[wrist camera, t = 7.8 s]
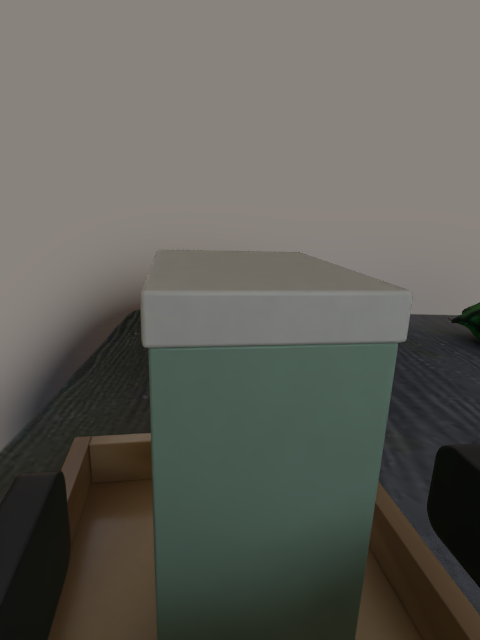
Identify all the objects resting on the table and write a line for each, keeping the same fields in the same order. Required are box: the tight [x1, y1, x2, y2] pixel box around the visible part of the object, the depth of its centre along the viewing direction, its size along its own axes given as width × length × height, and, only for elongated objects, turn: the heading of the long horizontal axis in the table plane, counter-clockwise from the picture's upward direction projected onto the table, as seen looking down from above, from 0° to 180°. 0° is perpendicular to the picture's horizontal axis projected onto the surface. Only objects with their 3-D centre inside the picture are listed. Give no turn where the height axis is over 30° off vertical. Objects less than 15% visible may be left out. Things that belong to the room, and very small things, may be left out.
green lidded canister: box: [140, 250, 413, 640], centre depth 11 cm, size 5×7×12 cm
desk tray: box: [48, 433, 480, 640], centre depth 13 cm, size 14×18×2 cm
